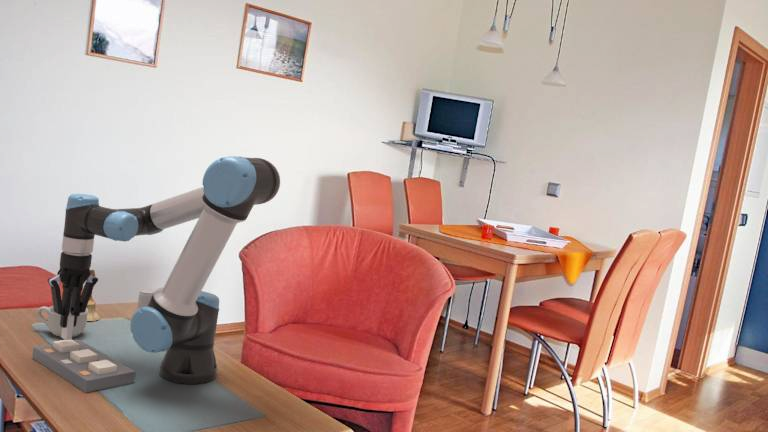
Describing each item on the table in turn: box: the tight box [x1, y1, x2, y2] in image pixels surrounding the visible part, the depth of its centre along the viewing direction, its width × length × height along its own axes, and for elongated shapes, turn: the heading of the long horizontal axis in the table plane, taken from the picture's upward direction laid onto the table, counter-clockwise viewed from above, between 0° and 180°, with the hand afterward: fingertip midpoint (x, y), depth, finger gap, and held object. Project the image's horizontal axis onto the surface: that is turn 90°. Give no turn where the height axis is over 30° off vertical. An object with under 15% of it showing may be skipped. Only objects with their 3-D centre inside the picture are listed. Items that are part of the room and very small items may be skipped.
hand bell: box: [86, 269, 101, 322], centre depth 218 cm, size 8×8×16 cm
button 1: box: [52, 339, 80, 353], centre depth 181 cm, size 5×5×2 cm
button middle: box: [70, 349, 98, 364], centre depth 176 cm, size 5×5×2 cm
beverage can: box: [136, 288, 155, 311], centre depth 218 cm, size 5×5×12 cm
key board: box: [32, 339, 136, 394], centre depth 176 cm, size 27×13×3 cm, turn 52°
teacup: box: [36, 304, 88, 338], centre depth 200 cm, size 14×11×8 cm
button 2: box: [88, 360, 117, 375], centre depth 171 cm, size 5×5×2 cm
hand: (66, 338), depth 181 cm, fingers closed
